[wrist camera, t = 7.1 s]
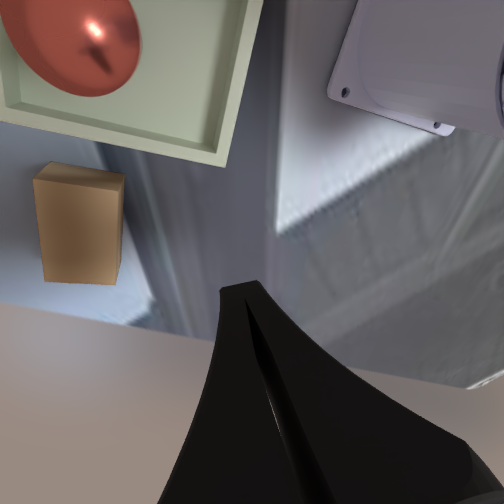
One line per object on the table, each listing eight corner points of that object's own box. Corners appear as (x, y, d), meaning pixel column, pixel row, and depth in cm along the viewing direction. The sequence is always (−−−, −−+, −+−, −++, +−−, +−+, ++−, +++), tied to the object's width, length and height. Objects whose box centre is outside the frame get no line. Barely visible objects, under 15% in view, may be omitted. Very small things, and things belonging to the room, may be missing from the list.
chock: (125, 172, 17) (118, 191, 15) (121, 258, 20) (115, 285, 18) (52, 160, 16) (32, 178, 13) (59, 253, 19) (44, 281, 16)
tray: (257, -20, 13) (270, -31, 12) (219, 155, 17) (225, 167, 15) (-18, -142, 10) (-59, -184, 8) (12, 110, 14) (-10, 119, 12)
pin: (155, 9, 13) (143, -26, 7) (149, 86, 14) (134, 109, 8) (76, -20, 12) (-14, -88, 6) (77, 67, 13) (7, 78, 7)
